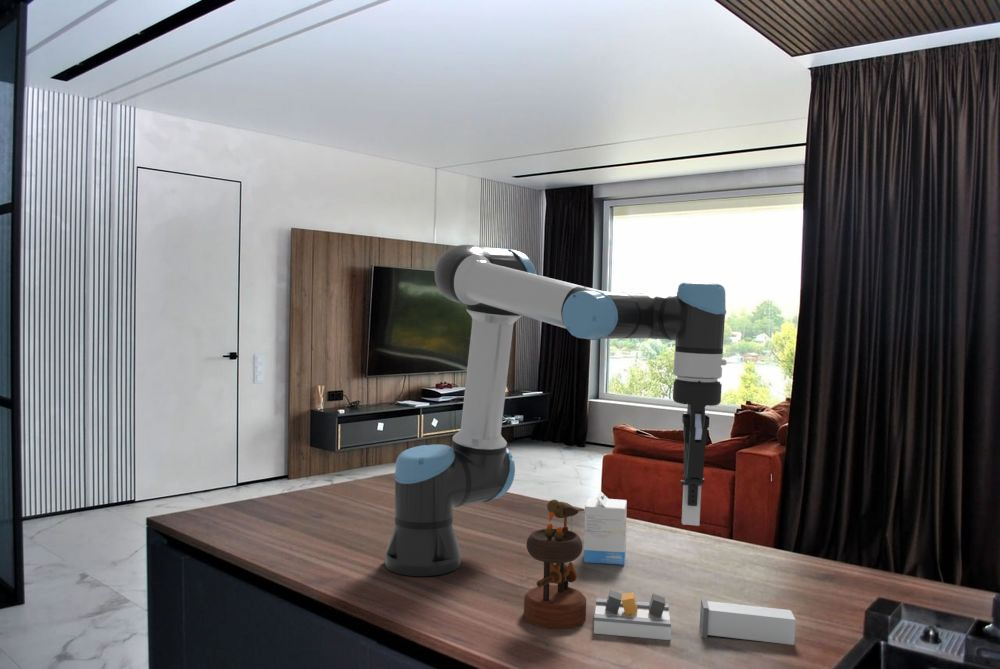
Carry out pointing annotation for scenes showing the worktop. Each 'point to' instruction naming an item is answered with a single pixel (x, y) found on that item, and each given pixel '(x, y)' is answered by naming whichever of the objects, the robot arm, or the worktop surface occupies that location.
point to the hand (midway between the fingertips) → (690, 523)
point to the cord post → (747, 622)
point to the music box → (556, 574)
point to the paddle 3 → (656, 605)
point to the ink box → (605, 530)
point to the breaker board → (632, 622)
